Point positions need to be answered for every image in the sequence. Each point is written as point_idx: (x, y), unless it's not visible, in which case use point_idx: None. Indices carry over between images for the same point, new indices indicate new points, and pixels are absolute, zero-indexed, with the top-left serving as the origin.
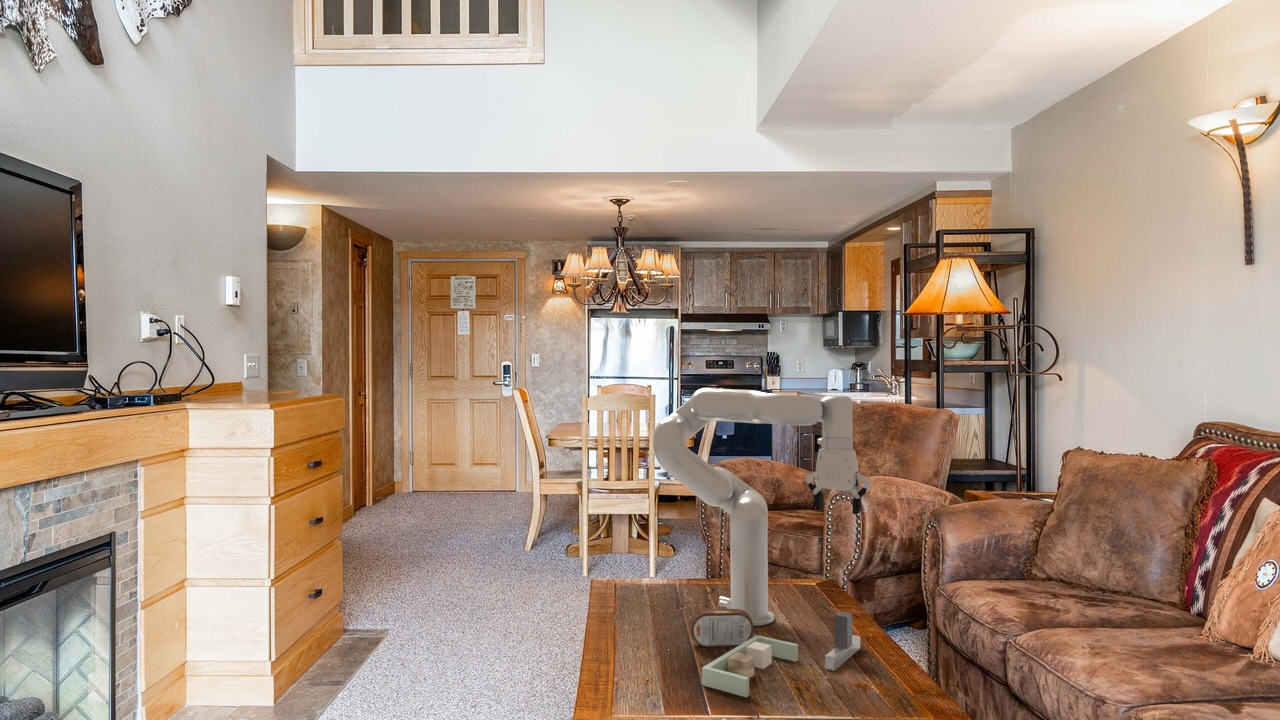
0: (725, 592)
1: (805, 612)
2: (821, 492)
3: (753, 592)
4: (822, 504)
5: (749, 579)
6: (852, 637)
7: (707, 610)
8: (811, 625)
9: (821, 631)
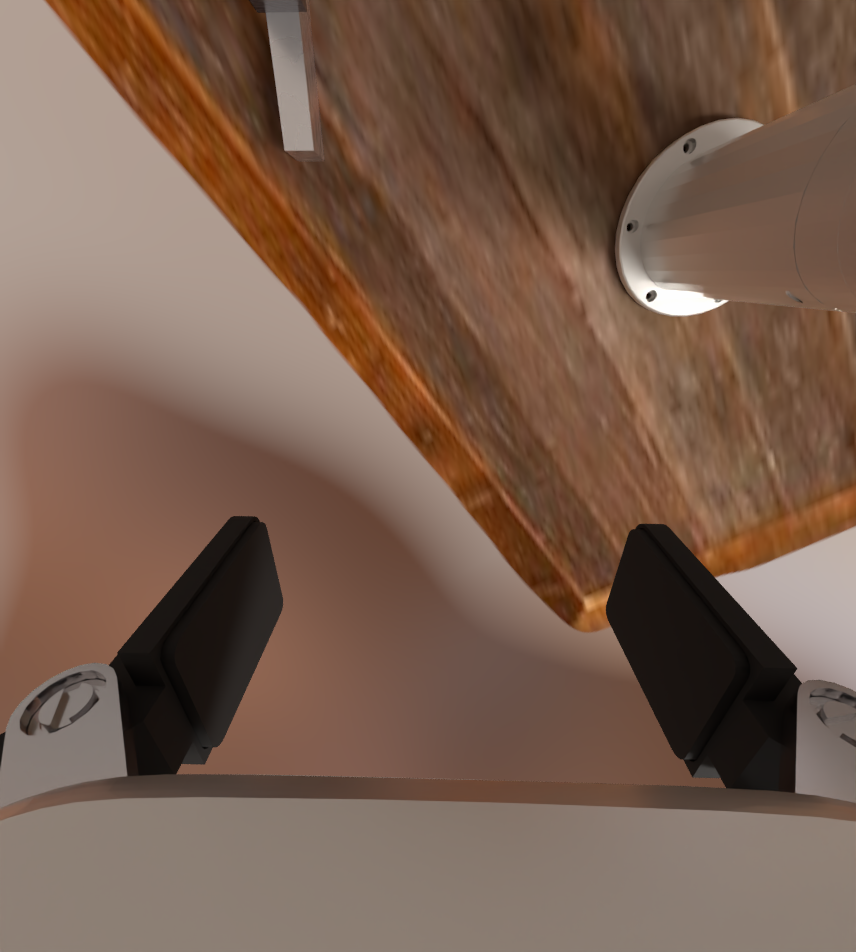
0: (808, 435)
1: (547, 395)
2: (720, 773)
3: (749, 137)
4: (626, 629)
5: (820, 101)
6: (298, 117)
7: None
8: (497, 291)
9: (454, 253)
